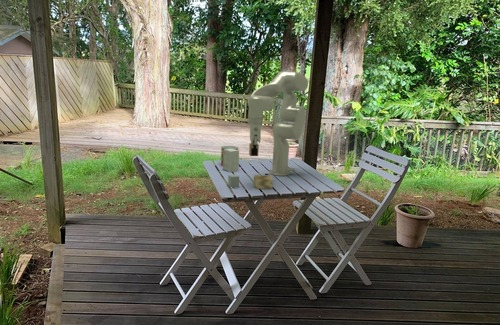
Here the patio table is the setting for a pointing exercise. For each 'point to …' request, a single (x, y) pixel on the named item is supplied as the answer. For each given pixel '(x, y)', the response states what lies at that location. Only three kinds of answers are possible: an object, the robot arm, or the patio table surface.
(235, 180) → the slate block
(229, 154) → the small box
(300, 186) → the patio table surface
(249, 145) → the terracotta block
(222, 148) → the canned food
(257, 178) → the tan square tray
